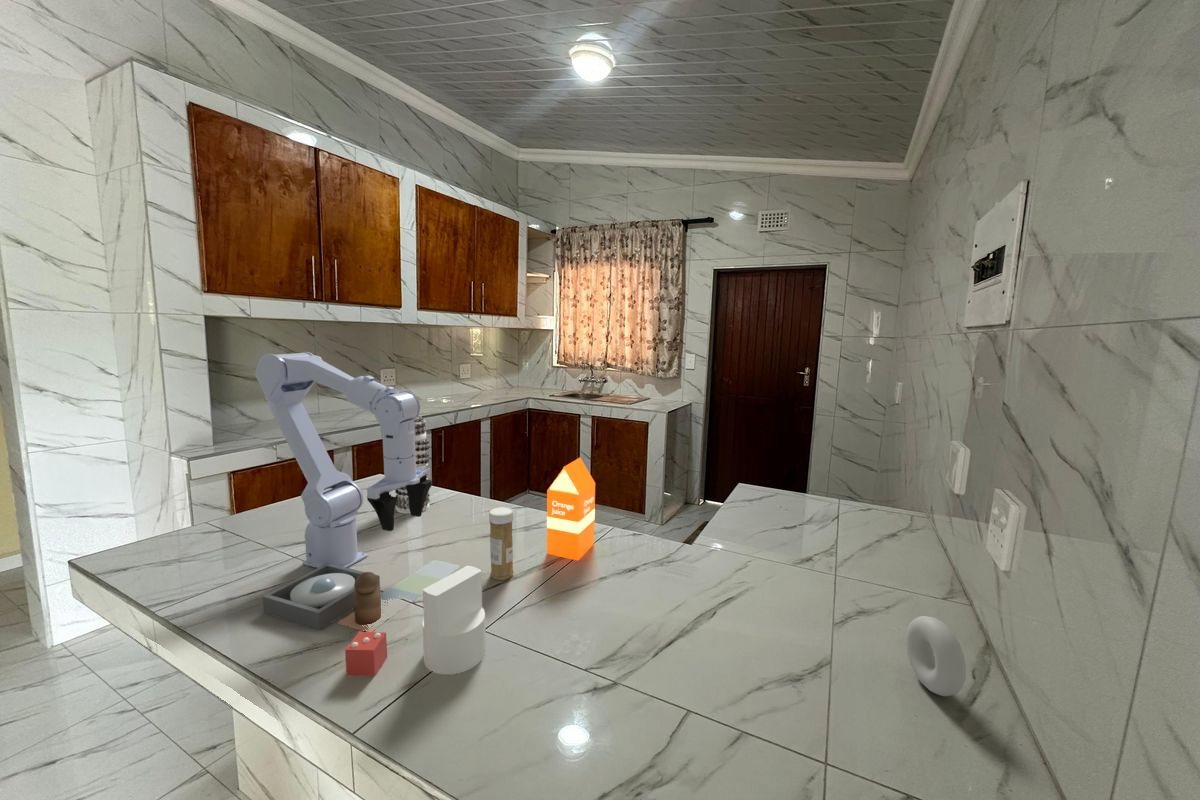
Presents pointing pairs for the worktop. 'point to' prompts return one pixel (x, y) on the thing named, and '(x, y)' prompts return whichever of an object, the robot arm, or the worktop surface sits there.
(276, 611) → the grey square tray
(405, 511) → the decorative candle
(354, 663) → the red die
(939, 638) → the donut
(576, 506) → the orange juice
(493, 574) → the sprinkles bottle
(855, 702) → the worktop surface
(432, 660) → the cylinder with rectangular tab
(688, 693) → the worktop surface
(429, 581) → the strip
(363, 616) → the walnut pawn
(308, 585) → the dome
